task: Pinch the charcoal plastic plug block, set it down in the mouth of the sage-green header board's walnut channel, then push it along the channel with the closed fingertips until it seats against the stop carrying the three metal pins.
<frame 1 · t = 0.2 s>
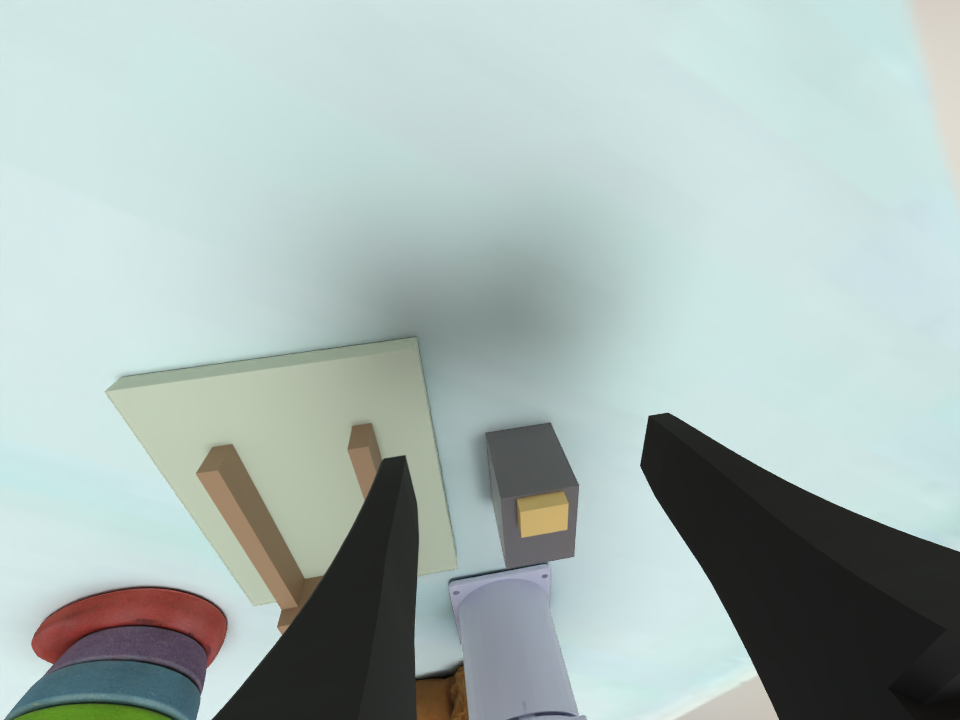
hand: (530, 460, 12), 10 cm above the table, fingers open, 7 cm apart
header board: (324, 484, 24), on the table
stacking bear: (156, 621, 29), on the table
brown piece: (448, 682, 40), on the table
plug block: (519, 462, 26), on the table
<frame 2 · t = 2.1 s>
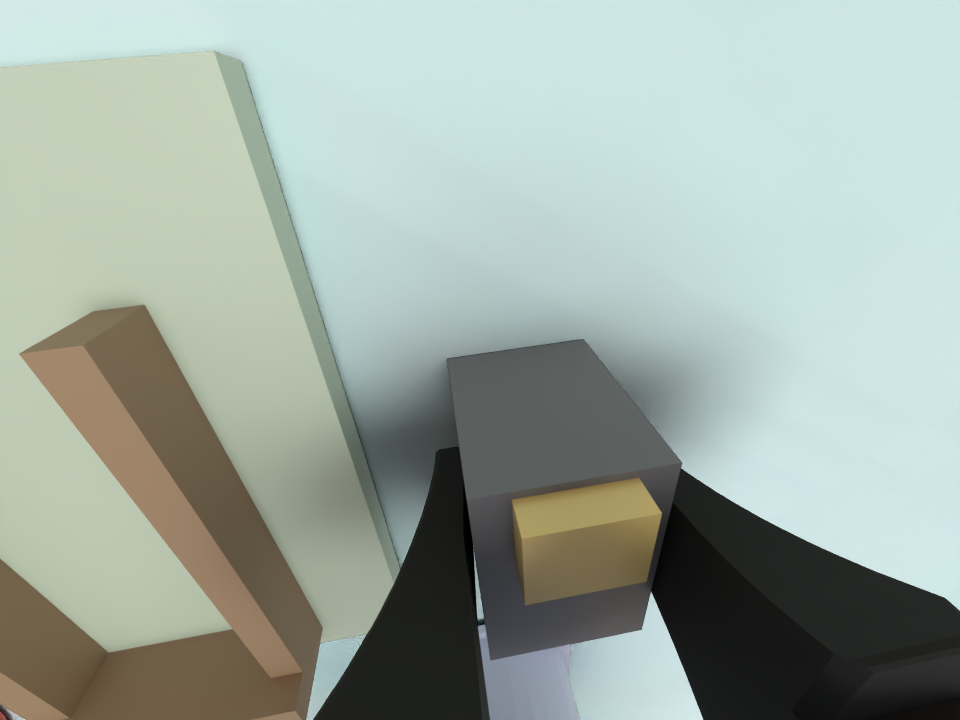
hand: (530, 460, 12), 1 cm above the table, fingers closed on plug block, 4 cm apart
header board: (111, 467, 12), on the table
plug block: (519, 429, 13), on the table, touching gripper
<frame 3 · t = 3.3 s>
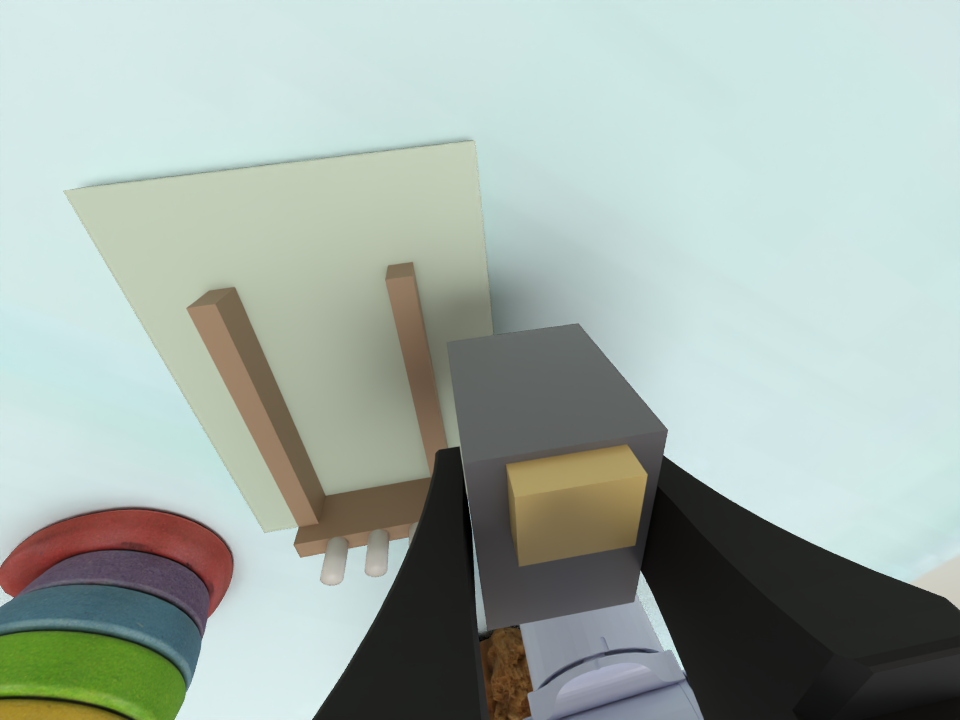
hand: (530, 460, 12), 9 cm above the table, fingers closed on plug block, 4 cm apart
header board: (350, 367, 19), on the table
stacking bear: (149, 558, 24), on the table
brown piece: (482, 648, 35), on the table
plug block: (516, 412, 13), point 7 cm above the table, touching gripper
when the fingers open (3 cm above the table, at t = 4.9 s): plug block stays where it is, resting on header board.
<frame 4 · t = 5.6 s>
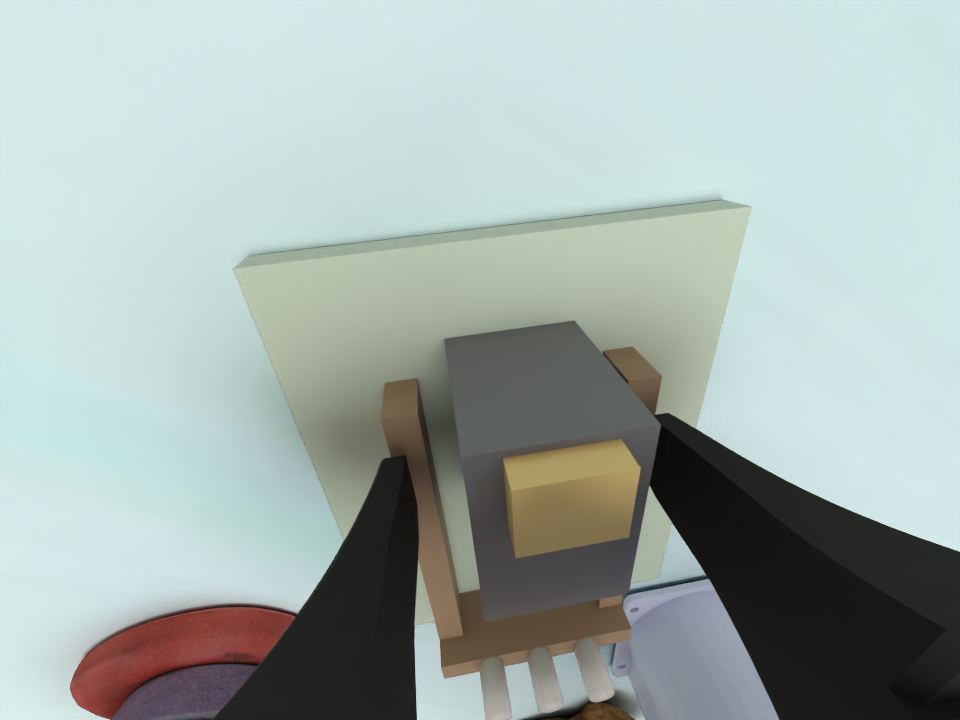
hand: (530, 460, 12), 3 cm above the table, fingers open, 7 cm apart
header board: (510, 453, 16), on the table
stacking bear: (237, 651, 21), on the table
plug block: (514, 408, 14), point 1 cm above the table, touching header board
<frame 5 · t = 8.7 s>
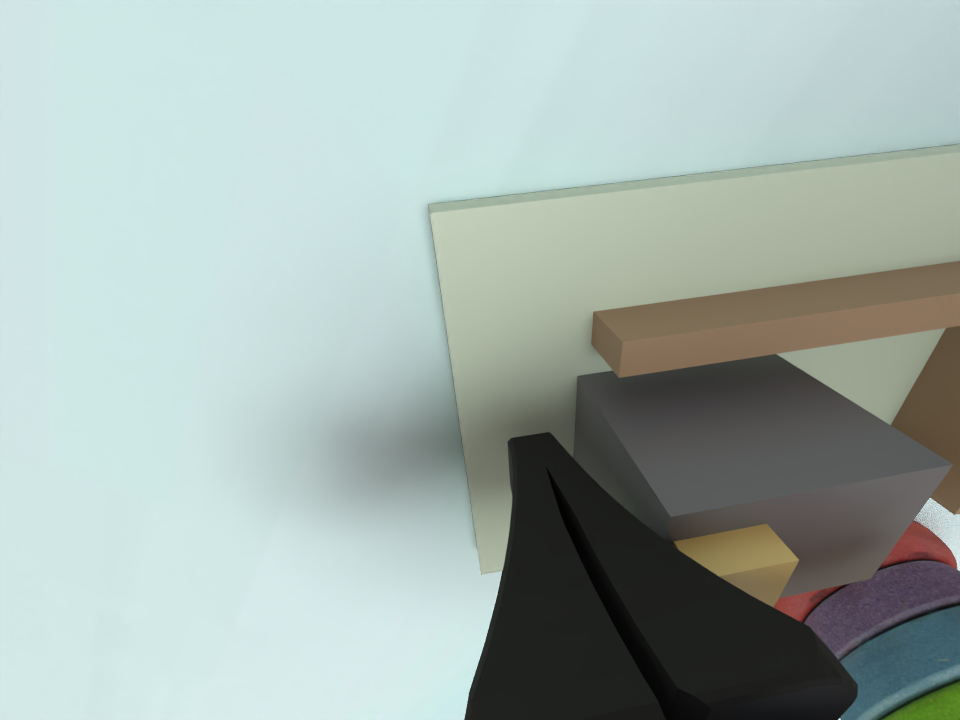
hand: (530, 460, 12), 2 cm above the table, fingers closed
header board: (708, 382, 14), on the table
stacking bear: (831, 567, 23), on the table
plug block: (663, 413, 13), point 1 cm above the table, touching gripper
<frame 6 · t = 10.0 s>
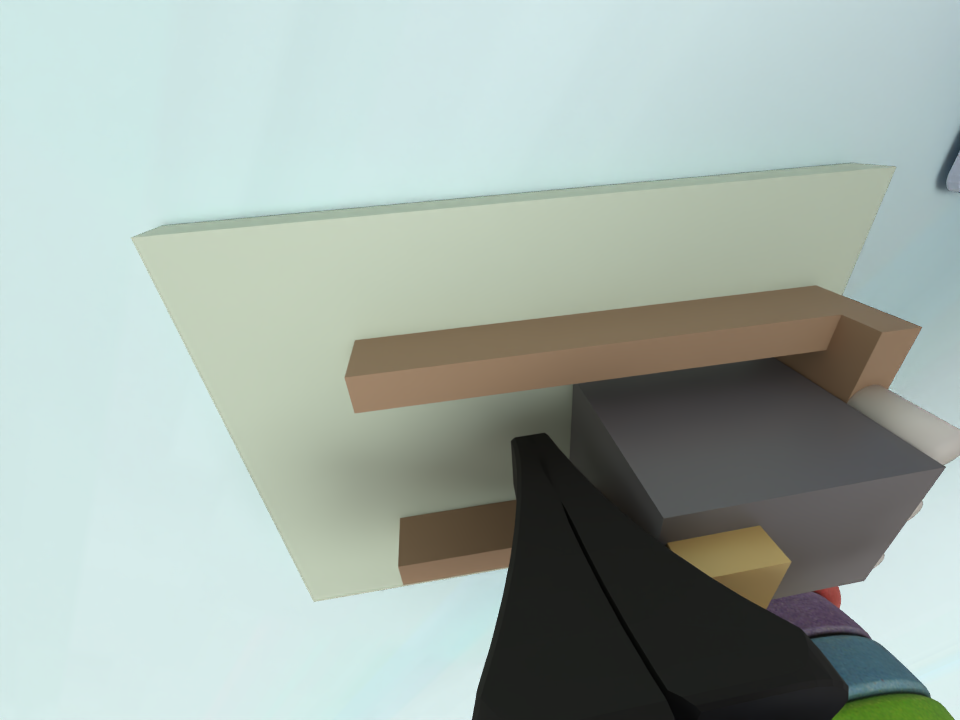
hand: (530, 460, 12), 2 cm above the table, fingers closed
header board: (532, 409, 14), on the table
stacking bear: (720, 590, 23), on the table
plug block: (659, 414, 13), point 1 cm above the table, touching gripper, header board
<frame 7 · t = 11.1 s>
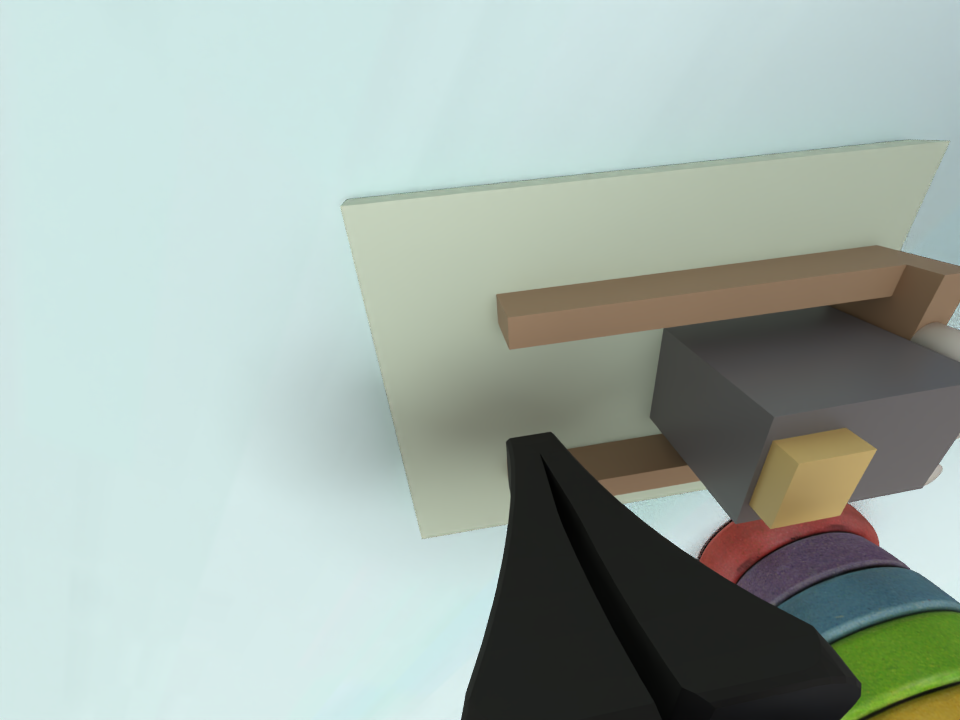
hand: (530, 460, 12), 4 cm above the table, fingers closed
header board: (620, 362, 16), on the table
stacking bear: (766, 543, 25), on the table
plug block: (731, 363, 15), point 1 cm above the table, touching header board
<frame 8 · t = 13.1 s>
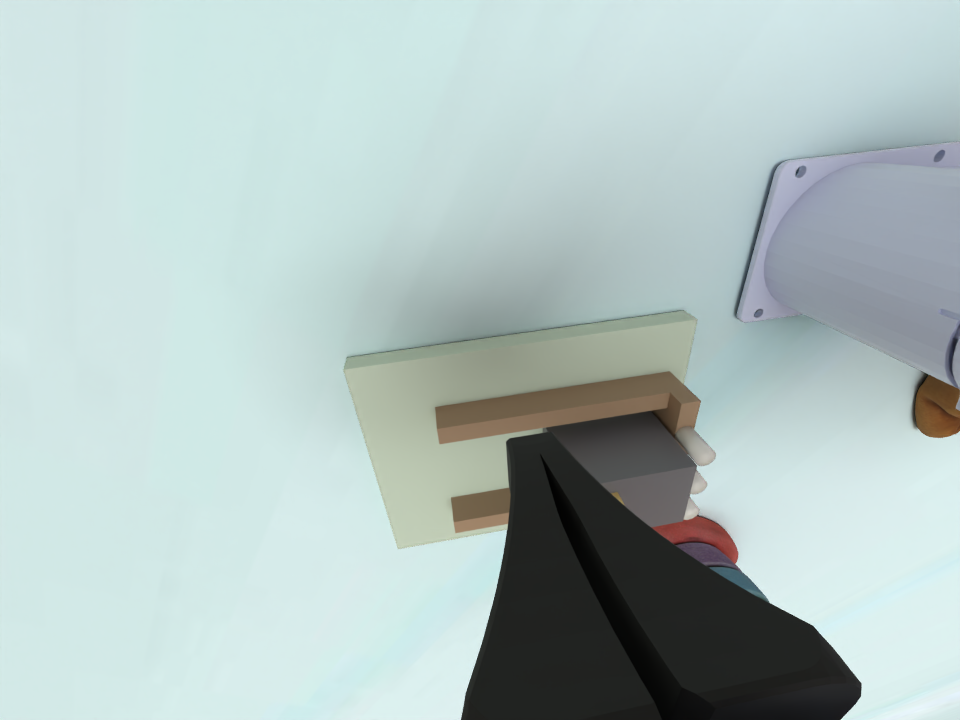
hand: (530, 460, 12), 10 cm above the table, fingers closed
header board: (524, 434, 24), on the table
stacking bear: (658, 549, 33), on the table
plug block: (592, 437, 24), point 1 cm above the table, touching header board
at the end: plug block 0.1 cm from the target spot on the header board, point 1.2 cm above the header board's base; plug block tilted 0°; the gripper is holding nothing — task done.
